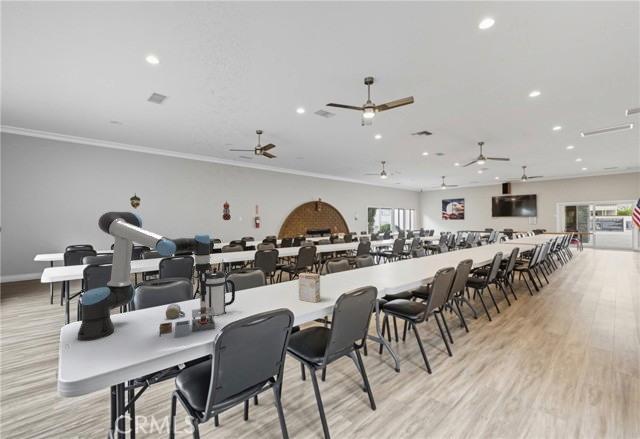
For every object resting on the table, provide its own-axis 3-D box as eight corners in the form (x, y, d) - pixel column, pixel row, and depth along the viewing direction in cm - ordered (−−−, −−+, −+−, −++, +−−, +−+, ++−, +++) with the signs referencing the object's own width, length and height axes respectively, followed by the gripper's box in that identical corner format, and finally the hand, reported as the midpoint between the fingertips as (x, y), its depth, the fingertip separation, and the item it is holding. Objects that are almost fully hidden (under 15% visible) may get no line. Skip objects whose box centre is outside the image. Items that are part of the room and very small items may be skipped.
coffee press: (221, 320, 170) (220, 269, 170) (197, 318, 173) (196, 269, 173) (235, 311, 187) (235, 265, 187) (213, 309, 190) (212, 264, 190)
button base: (192, 335, 148) (192, 315, 148) (192, 328, 158) (191, 309, 158) (214, 331, 153) (214, 312, 153) (213, 324, 163) (213, 307, 163)
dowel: (200, 321, 154) (200, 283, 154) (200, 319, 156) (200, 282, 156) (206, 320, 155) (205, 283, 155) (206, 318, 157) (205, 282, 157)
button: (199, 331, 153) (199, 321, 153) (199, 328, 156) (199, 319, 157) (207, 329, 155) (207, 320, 155) (207, 327, 158) (206, 318, 158)
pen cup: (175, 340, 142) (174, 326, 142) (175, 335, 148) (175, 322, 148) (189, 338, 144) (189, 324, 144) (189, 333, 150) (189, 320, 150)
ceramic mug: (165, 320, 171) (165, 307, 171) (167, 316, 178) (167, 303, 178) (184, 318, 174) (184, 305, 174) (185, 314, 182) (185, 302, 182)
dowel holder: (159, 336, 146) (159, 327, 146) (160, 333, 151) (160, 323, 151) (171, 335, 149) (171, 325, 149) (172, 331, 153) (171, 322, 153)
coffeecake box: (320, 300, 210) (320, 273, 210) (315, 303, 204) (315, 275, 204) (303, 297, 218) (303, 272, 218) (298, 300, 212) (298, 273, 212)
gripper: (211, 264, 150) (211, 309, 150) (209, 260, 164) (209, 301, 164) (195, 265, 147) (196, 311, 147) (194, 261, 161) (195, 303, 161)
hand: (203, 306), depth 156 cm, fingers closed on dowel, 3 cm apart
